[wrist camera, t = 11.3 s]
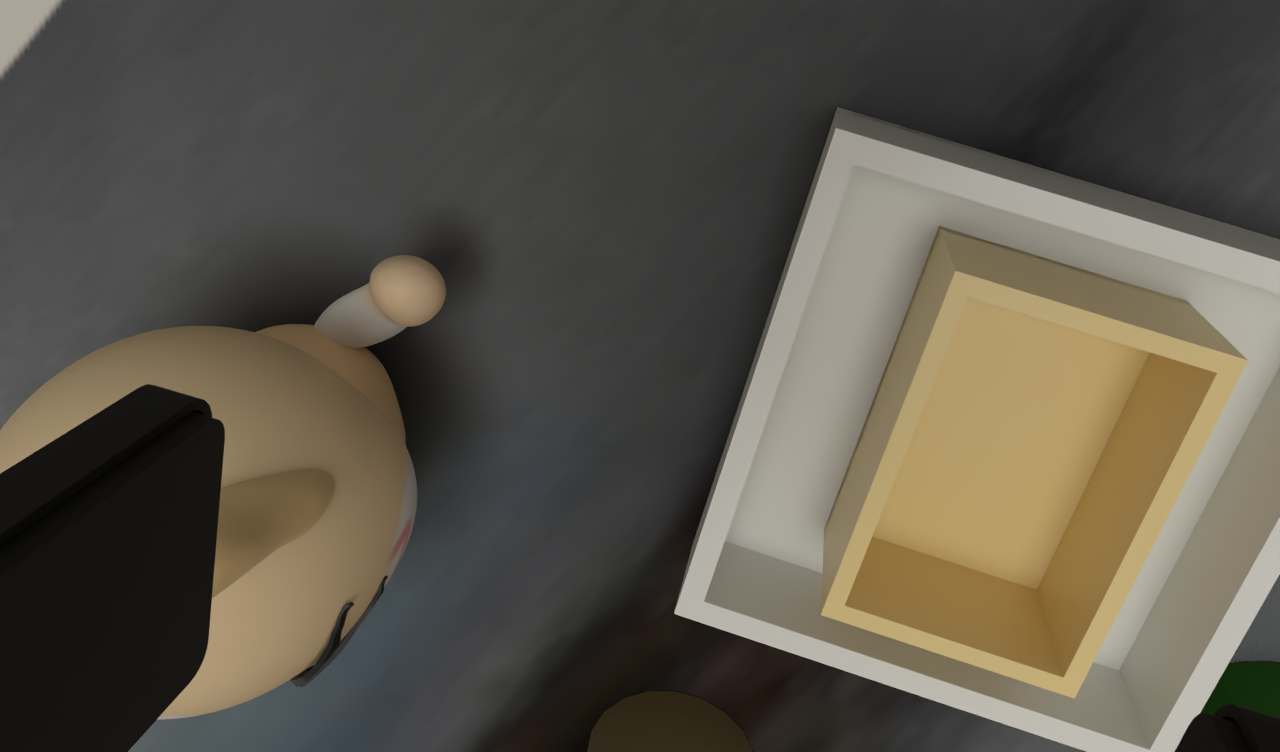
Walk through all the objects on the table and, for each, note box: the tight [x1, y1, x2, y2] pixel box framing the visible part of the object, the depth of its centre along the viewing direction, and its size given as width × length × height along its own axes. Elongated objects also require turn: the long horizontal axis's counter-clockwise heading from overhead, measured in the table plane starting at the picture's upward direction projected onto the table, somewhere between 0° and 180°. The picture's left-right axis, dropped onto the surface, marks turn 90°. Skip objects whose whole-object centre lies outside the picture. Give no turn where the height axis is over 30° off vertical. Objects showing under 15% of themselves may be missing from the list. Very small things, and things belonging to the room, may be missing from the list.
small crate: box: [821, 226, 1248, 699], centre depth 30 cm, size 10×7×5 cm
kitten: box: [0, 255, 446, 720], centre depth 30 cm, size 15×10×15 cm
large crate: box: [674, 107, 1280, 752], centre depth 31 cm, size 14×14×4 cm
